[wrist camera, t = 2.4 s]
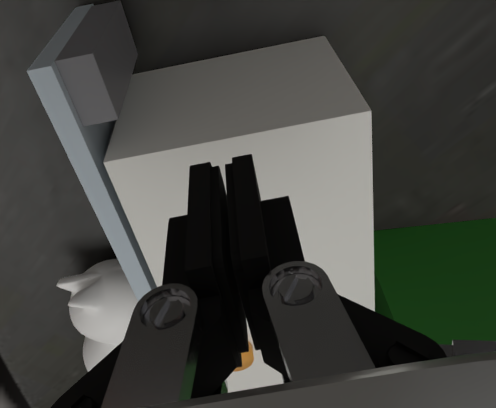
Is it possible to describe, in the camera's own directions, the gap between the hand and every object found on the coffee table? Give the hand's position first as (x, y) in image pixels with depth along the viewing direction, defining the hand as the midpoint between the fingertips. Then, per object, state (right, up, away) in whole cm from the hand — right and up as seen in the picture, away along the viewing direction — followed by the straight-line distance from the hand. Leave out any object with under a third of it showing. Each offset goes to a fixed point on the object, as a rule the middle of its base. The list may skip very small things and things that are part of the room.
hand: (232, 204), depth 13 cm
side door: (-6, +5, +18) cm, 19 cm away
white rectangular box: (+1, +1, +22) cm, 22 cm away
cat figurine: (-9, -7, +28) cm, 30 cm away
